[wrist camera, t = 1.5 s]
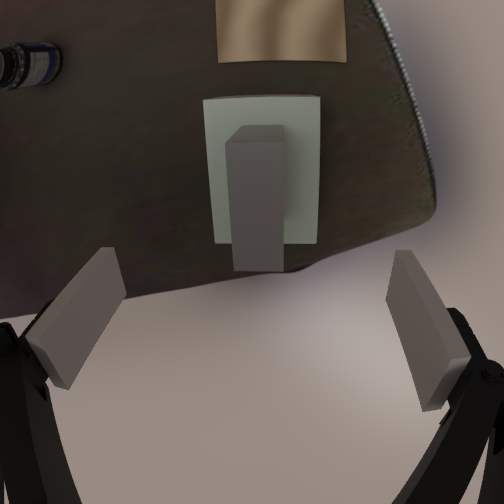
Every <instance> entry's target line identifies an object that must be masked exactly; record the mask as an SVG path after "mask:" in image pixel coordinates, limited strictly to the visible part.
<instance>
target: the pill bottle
mask: <svg viewBox="0 0 504 504" xmlns="http://www.w3.org/2000/svg"><path fill="white" fill-rule="evenodd" d="M61 62H62V56H61V53H60V50H59V49H58V47H57V46H56V45H54V44H52V43H11V44H9V45H7V46H5V47H4V48H3V49H0V89H2V90H5V91H9V90H14V89H20V88H25V87H31V86H37V85H44V84H47V83H49V82H51V81H52V80H53V79H54V78H55V77H56V75H57V74H58V72H59V70H60V67H61Z"/></svg>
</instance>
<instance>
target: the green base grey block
mask: <svg viewBox="0 0 504 504" xmlns="http://www.w3.org/2000/svg"><path fill="white" fill-rule="evenodd" d="M203 107H204V121H205V135H206V148H207V160H208V172H209V184H210V195H211V206H212V216H213V227H214V237H215V243H232V252H233V265H234V271H284V244H316V242H317V223H318V200H319V169H320V97H304V96H267V97H238V98H221V99H208V100H203Z"/></svg>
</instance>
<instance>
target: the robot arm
mask: <svg viewBox="0 0 504 504" xmlns="http://www.w3.org/2000/svg"><path fill="white" fill-rule="evenodd" d="M126 294H127V293H126V290H125V286H124V283H123V279H122V276H121V272H120V268H119V265H118V261H117V257H116V253H115V249H114V247H101V248H100V249H99V250H98V251H97V252H96V254H95V255H94V256H93V257H92V258H91V259H90V260H89V261H88V262H87V263H86V264H85V265H84V267H83V268H82V269H81V270H80V271H79V272H78V273H77V274H76V275H75V277H74V278H73V279H72V280H71V281H70V282H69V283H68V285H67V286H66V287H65V288H64V289H63V290H62V291H61V293H60V294H59V295H58V296H57V297H56V298H54V299H53V300H51V301H50V302H48V303H47V304H46V305H45V306H44V307H43V308H42V310H41V311H40V313H38V314H37V316H36V317H35V319H34V320H32V322H31V323H30V324H29V325H28V327H27V328H26V329H25V331H24V332H23V333H22V334H21V336H20V337H19V338H18V336H17V335H16V333H15V331H14V329H13V327H12V326H11V324H9V323H8V322H3V323H0V504H4V481H5V486H6V491H7V496H8V500H9V504H82V503H81V500H80V497H79V495H78V492H77V489H76V487H75V484H74V481H73V478H72V475H71V473H70V469H69V466H68V463H67V460H66V457H65V454H64V450H63V447H62V444H61V440H60V436H59V432H58V428H57V425H56V420H55V416H54V412H53V408H52V403H51V398H50V393H49V389H48V386H47V384H46V383H45V381H46V380H47V378H48V377H49V378H50V379H51V381H52V383H53V384H54V386H56V387H59V388H63V389H66V390H69V389H70V387H71V385H72V383H73V382H74V380H75V378H76V376H77V375H78V373H79V371H80V369H81V368H82V366H83V364H84V362H85V361H86V359H87V357H88V356H89V354H90V352H91V351H92V349H93V347H94V345H95V344H96V342H97V340H98V339H99V337H100V335H101V334H102V332H103V331H104V329H105V327H106V326H107V324H108V323H109V321H110V319H111V318H112V316H113V314H114V313H115V311H116V310H117V308H118V307H119V305H120V303H121V302H122V300H123V299H124V297H125V296H126ZM386 302H387V305H388V307H389V310H390V313H391V315H392V318H393V321H394V324H395V326H396V329H397V332H398V335H399V337H400V341H401V344H402V346H403V350H404V353H405V356H406V358H407V362H408V365H409V368H410V371H411V374H412V377H413V380H414V384H415V387H416V391H417V394H418V397H419V401H420V404H421V408H422V411H423V412H426V411H432V410H438V409H441V408H442V406H443V405H444V403H445V402H446V400H448V403H449V406H450V409H449V410H448V412H447V413H446V415H445V416H444V417H443V419H442V420H441V422H440V423H439V424H440V427H439V429H438V431H437V433H436V434H435V436H434V438H433V440H432V442H431V443H430V445H429V447H428V449H427V450H426V452H425V454H424V455H423V457H422V459H421V460H420V462H419V464H418V465H417V467H416V469H415V470H414V472H413V473H412V475H411V476H410V478H409V479H408V481H407V482H406V484H405V485H404V487H403V488H402V490H401V491H400V493H399V494H398V495H397V497H396V498H395V500H394V501H393V502H392V504H459V502H460V500H461V499H462V497H463V495H464V493H465V491H466V489H467V486H468V485H469V482H470V480H471V478H472V476H473V474H474V472H475V469H476V467H477V465H478V463H479V460H480V458H481V456H482V453H483V451H484V448H485V445H486V443H487V440H488V438H489V443H488V450H487V458H486V463H485V469H484V475H483V481H482V485H481V490H480V494H479V499H478V503H477V504H504V369H503V367H502V366H501V365H500V364H499V363H497V362H495V361H493V360H489V359H487V357H486V355H485V354H484V351H483V349H482V348H481V346H480V344H479V342H478V340H477V338H476V336H475V335H474V334H473V331H472V329H471V328H470V327H469V324H468V322H467V321H466V319H465V317H464V316H463V314H461V313H460V312H459V311H458V310H457V309H456V308H446V307H445V305H444V304H443V302H442V300H441V298H440V297H439V295H438V293H437V291H436V290H435V288H434V286H433V285H432V283H431V281H430V280H429V278H428V276H427V275H426V273H425V271H424V270H423V268H422V267H421V265H420V264H419V262H418V260H417V259H416V257H415V255H414V254H413V252H412V251H411V250H396V252H395V258H394V263H393V268H392V272H391V278H390V282H389V287H388V291H387V296H386Z"/></svg>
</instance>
